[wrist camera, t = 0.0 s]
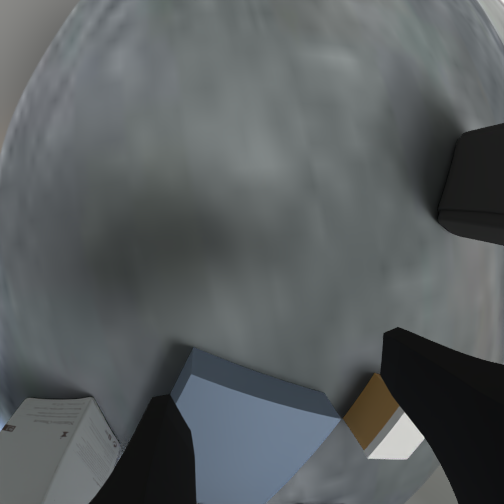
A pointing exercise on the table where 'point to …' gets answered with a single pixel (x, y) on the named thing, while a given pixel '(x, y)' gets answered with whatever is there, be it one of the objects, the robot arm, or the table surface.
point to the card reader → (476, 187)
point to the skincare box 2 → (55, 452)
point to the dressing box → (247, 428)
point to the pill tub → (382, 423)
